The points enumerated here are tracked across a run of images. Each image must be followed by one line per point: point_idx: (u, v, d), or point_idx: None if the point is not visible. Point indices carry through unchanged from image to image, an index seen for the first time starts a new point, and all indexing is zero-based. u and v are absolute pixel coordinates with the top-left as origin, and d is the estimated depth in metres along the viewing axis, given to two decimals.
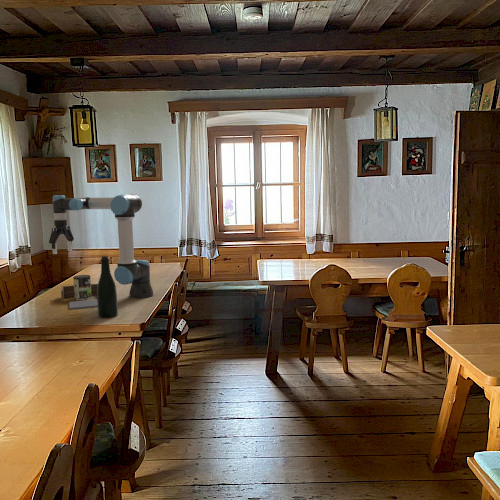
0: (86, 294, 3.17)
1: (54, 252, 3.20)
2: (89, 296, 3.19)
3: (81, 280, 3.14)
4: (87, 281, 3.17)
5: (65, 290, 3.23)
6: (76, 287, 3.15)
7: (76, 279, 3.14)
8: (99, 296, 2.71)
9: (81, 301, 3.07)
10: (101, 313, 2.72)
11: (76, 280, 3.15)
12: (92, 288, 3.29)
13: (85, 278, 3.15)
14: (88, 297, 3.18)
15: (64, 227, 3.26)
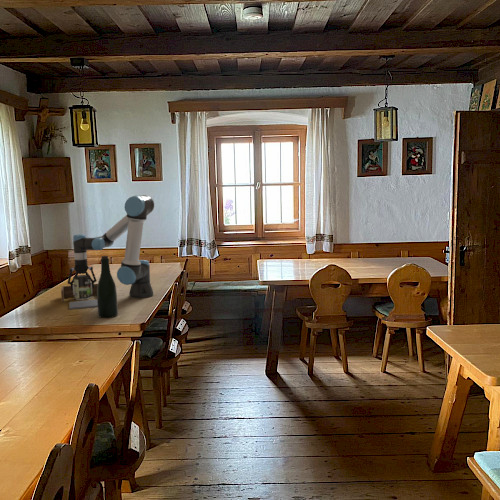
0: (86, 294, 3.17)
1: (73, 293, 3.18)
2: (89, 296, 3.19)
3: (81, 280, 3.14)
4: (87, 281, 3.17)
5: (65, 290, 3.23)
6: (76, 287, 3.15)
7: (76, 279, 3.14)
8: (99, 296, 2.71)
9: (81, 301, 3.07)
10: (101, 313, 2.72)
11: (76, 280, 3.15)
12: (92, 288, 3.29)
13: (85, 278, 3.15)
14: (88, 297, 3.18)
15: (84, 267, 3.18)
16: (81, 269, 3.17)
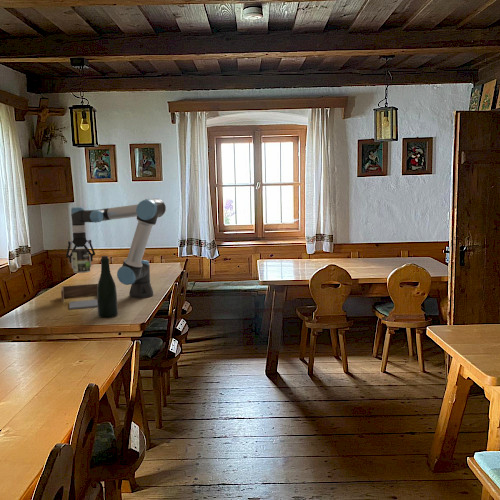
0: (85, 267, 3.14)
1: None
2: (88, 269, 3.16)
3: (79, 253, 3.12)
4: (86, 254, 3.14)
5: (65, 290, 3.23)
6: (75, 260, 3.13)
7: (74, 252, 3.12)
8: (99, 296, 2.71)
9: (81, 301, 3.07)
10: (101, 313, 2.72)
11: (74, 253, 3.12)
12: (92, 288, 3.29)
13: (83, 251, 3.13)
14: (87, 270, 3.16)
15: (83, 240, 3.15)
16: (79, 242, 3.15)
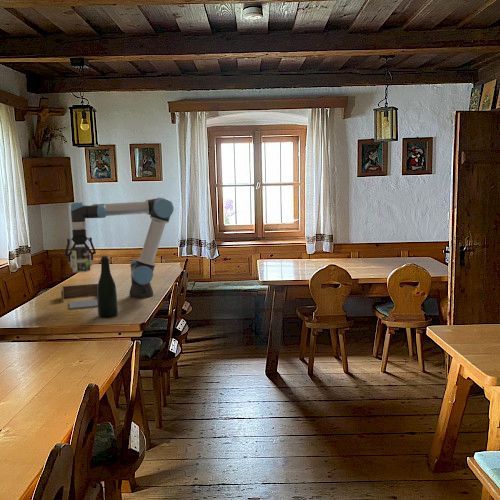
0: (85, 266, 2.95)
1: None
2: (88, 269, 2.97)
3: (79, 251, 2.93)
4: (86, 252, 2.95)
5: (65, 290, 3.23)
6: (74, 259, 2.94)
7: (74, 250, 2.93)
8: (99, 296, 2.71)
9: (81, 301, 3.07)
10: (101, 313, 2.72)
11: (74, 251, 2.93)
12: (92, 288, 3.29)
13: (83, 249, 2.94)
14: (87, 270, 2.96)
15: (83, 237, 2.96)
16: (79, 240, 2.96)
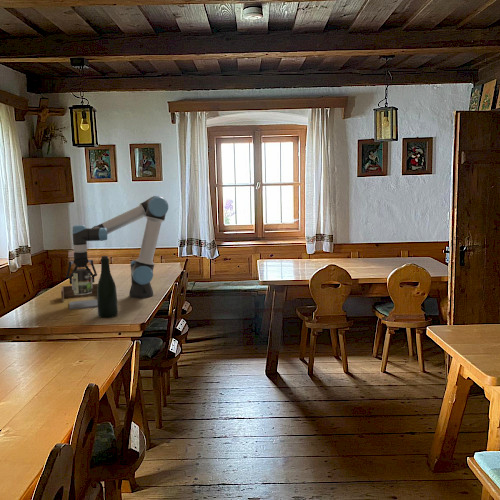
0: (86, 289, 2.97)
1: (72, 287, 2.99)
2: (89, 291, 2.99)
3: (81, 274, 2.95)
4: (87, 275, 2.97)
5: (65, 290, 3.23)
6: (75, 281, 2.96)
7: (75, 273, 2.95)
8: (99, 296, 2.71)
9: (81, 301, 3.07)
10: (101, 313, 2.72)
11: (75, 274, 2.95)
12: (92, 288, 3.29)
13: (85, 272, 2.96)
14: (88, 292, 2.98)
15: (84, 260, 2.98)
16: (81, 262, 2.98)
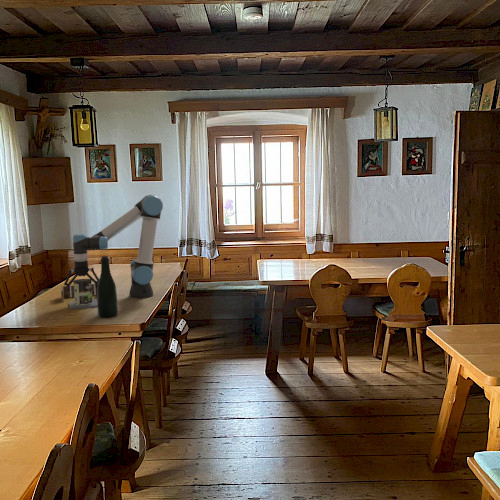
0: (87, 299, 2.98)
1: (70, 295, 2.99)
2: (90, 301, 3.00)
3: (81, 284, 2.95)
4: (88, 285, 2.98)
5: (65, 290, 3.23)
6: (76, 292, 2.97)
7: (76, 283, 2.96)
8: (99, 296, 2.71)
9: None
10: (101, 313, 2.72)
11: (76, 284, 2.96)
12: (92, 288, 3.29)
13: (86, 282, 2.96)
14: (89, 302, 2.99)
15: (85, 269, 2.99)
16: (81, 271, 2.98)
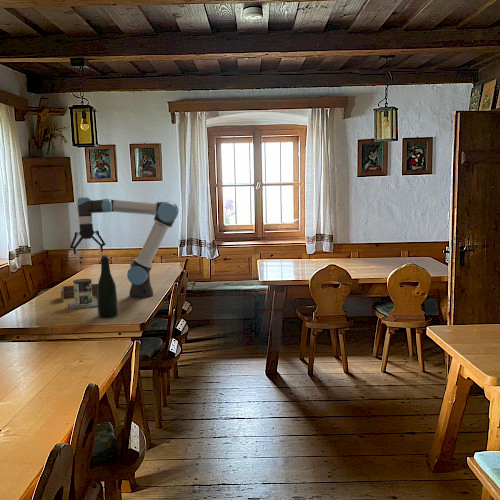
0: (87, 299, 2.98)
1: (76, 258, 3.03)
2: (90, 301, 3.00)
3: (81, 284, 2.95)
4: (88, 285, 2.98)
5: (65, 290, 3.23)
6: (76, 292, 2.97)
7: (76, 283, 2.96)
8: (99, 296, 2.71)
9: None
10: (101, 313, 2.72)
11: (76, 284, 2.96)
12: (92, 288, 3.29)
13: (86, 282, 2.96)
14: (89, 302, 2.99)
15: (90, 231, 3.03)
16: (87, 234, 3.02)
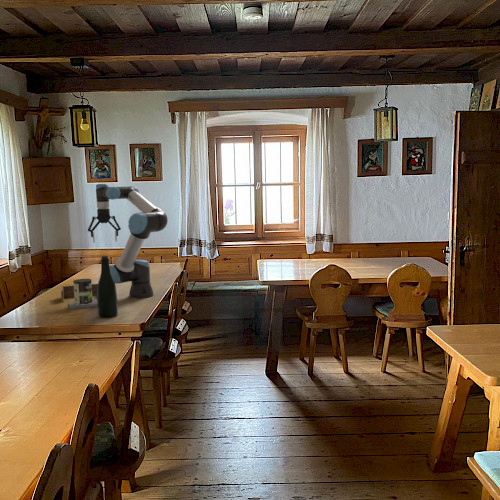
0: (87, 299, 2.98)
1: (93, 240, 3.21)
2: (90, 301, 3.00)
3: (81, 284, 2.95)
4: (88, 285, 2.98)
5: (65, 290, 3.23)
6: (76, 292, 2.97)
7: (76, 283, 2.96)
8: (99, 296, 2.71)
9: None
10: (101, 313, 2.72)
11: (76, 284, 2.96)
12: (92, 288, 3.29)
13: (86, 282, 2.96)
14: (89, 302, 2.99)
15: (107, 216, 3.21)
16: (103, 218, 3.21)
